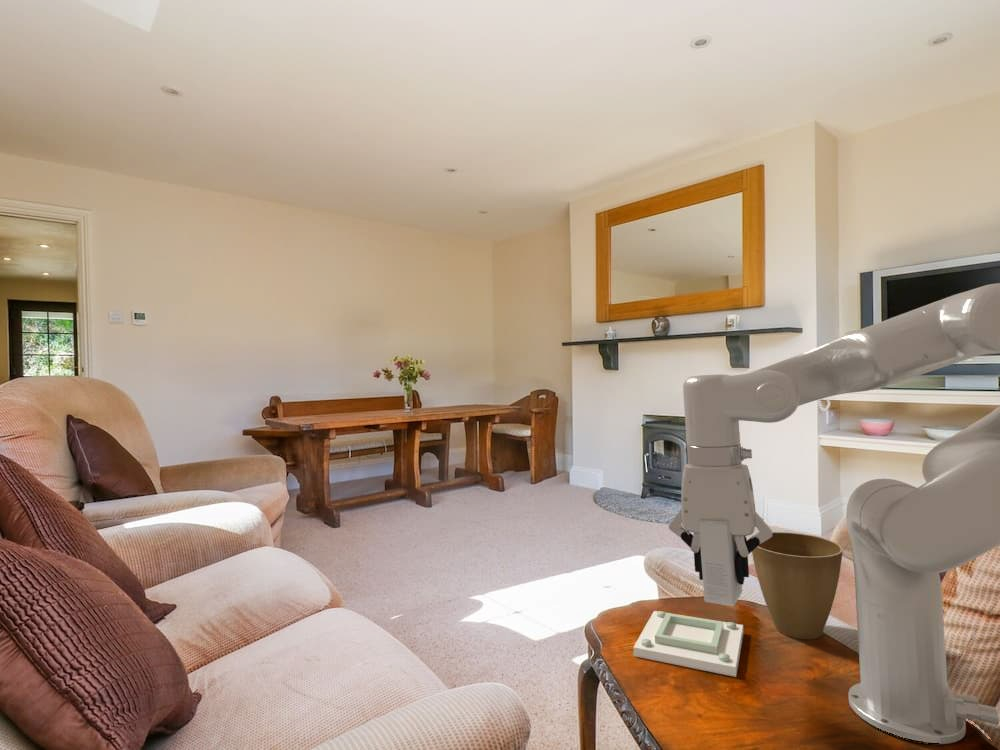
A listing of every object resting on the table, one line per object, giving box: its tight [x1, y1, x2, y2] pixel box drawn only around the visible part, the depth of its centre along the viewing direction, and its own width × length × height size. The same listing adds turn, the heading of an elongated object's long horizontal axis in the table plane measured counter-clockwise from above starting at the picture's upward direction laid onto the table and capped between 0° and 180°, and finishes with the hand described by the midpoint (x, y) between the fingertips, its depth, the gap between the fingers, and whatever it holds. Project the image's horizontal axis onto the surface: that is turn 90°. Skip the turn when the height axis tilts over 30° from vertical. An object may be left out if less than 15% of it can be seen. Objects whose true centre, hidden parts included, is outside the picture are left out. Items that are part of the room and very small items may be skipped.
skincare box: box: [699, 520, 743, 607], centre depth 79 cm, size 6×4×12 cm
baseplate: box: [632, 610, 744, 678], centre depth 94 cm, size 16×16×3 cm
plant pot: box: [751, 531, 844, 640], centre depth 97 cm, size 15×15×16 cm
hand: (721, 577), depth 79 cm, fingers closed on skincare box, 4 cm apart
